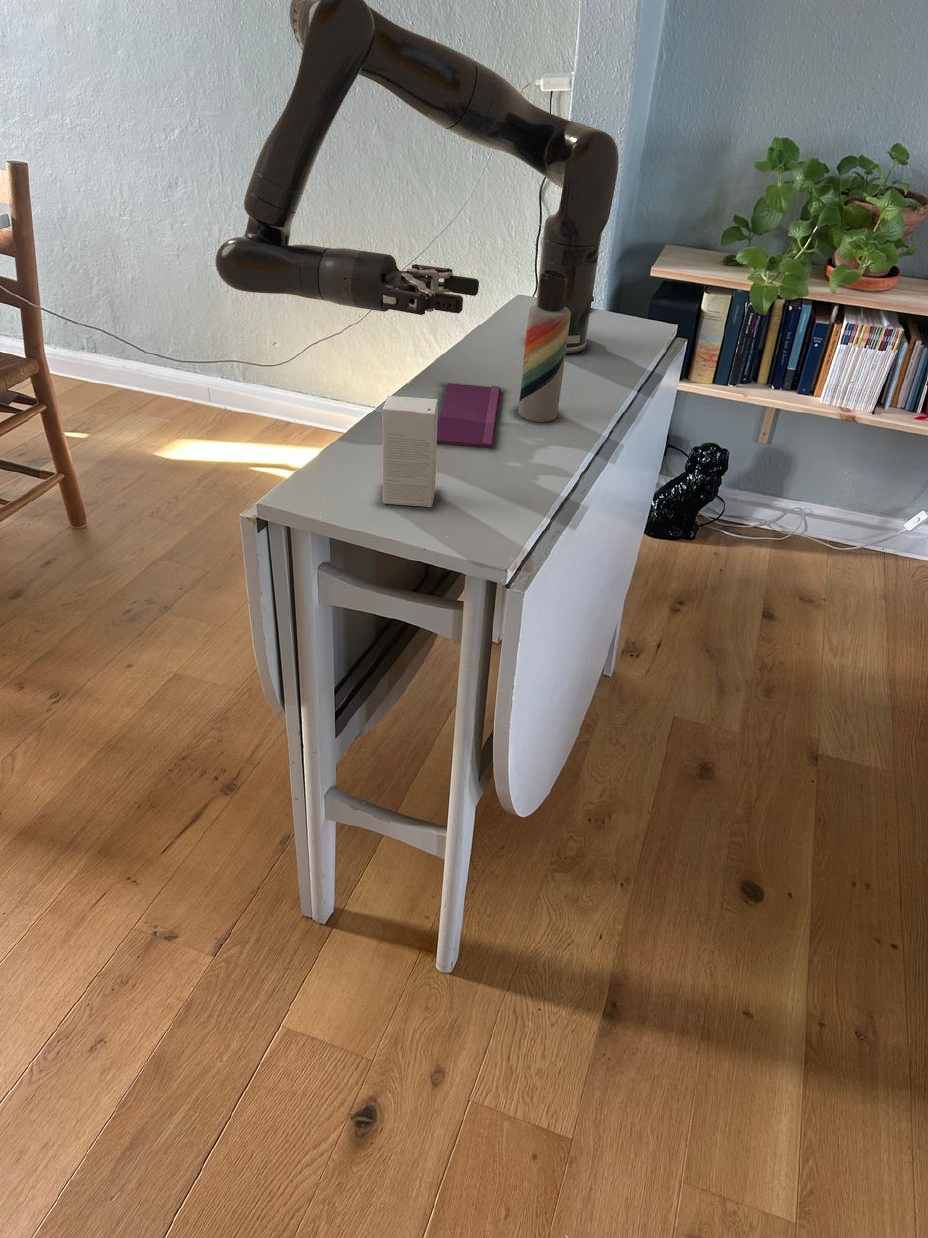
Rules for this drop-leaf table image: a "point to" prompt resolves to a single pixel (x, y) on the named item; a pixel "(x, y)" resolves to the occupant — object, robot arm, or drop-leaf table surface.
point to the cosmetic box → (409, 450)
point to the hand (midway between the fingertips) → (470, 295)
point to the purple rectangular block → (468, 415)
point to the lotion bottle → (545, 349)
